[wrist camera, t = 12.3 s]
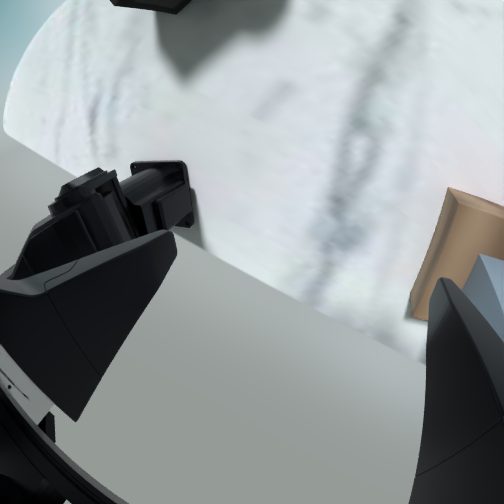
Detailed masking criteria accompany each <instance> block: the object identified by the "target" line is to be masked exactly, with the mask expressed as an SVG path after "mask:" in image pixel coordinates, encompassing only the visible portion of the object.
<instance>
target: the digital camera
mask: <svg viewBox="0 0 504 504" xmlns="http://www.w3.org/2000/svg"><path fill="white" fill-rule="evenodd" d="M110 1H111V3H112V4H113V5H114V6H120V7H129V8H138V9H146V10H153V11H159V12H165V13H171V14H178V13H179V12H180V11H181V10H182V9H183V8H184V7H185V6H186V5H187V4H188V3H189V2H191V1H192V0H110Z"/></svg>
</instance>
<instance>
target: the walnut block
mask: <svg viewBox="0 0 504 504" xmlns="http://www.w3.org/2000/svg"><path fill="white" fill-rule="evenodd" d="M479 254H483V255H486V256H489V257H493V258H496V259H499V260H503V261H504V207H503V206H501V205H498V204H496V203H493V202H490V201H488V200H485V199H482V198H479V197H476V196H474V195H471V194H468V193H465V192H462V191H459V190H456V189H452V188H449V187H448V189H447V193H446V197H445V200H444V204H443V207H442V210H441V213H440V217H439V220H438V223H437V226H436V229H435V232H434V235H433V238H432V241H431V243H430V246H429V249H428V251H427V254H426V257H425V259H424V262H423V264H422V267H421V269H420V272H419V274H418V277H417V279H416V281H415V284H414V286H413V288H412V290H411V293H410V297H411V312H412V318H417V319H421V320H426V321H428V311H429V300H430V297H431V294H432V292H433V290H434V287H435V285H436V282H437V280H438V278H440V277H445V278H450V279H452V280H453V281H454V283H455V284H456V285H457V286H458V287H459V288H460V289H461V290H462V289H463V287H464V285H465V283H466V281H467V279H468V277H469V274H470V272H471V270H472V268H473V266H474V264H475V262H476V259H477V257H478V255H479Z"/></svg>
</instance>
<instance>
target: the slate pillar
mask: <svg viewBox="0 0 504 504" xmlns="http://www.w3.org/2000/svg"><path fill="white" fill-rule="evenodd" d="M462 291H463V293H464V294H465V295H466V296H467V297H468V298H469V299H470V301H471V302H472V303H473V304H474V305H475V306H476V308H477V309H478V310H479V311H480V312H481V314H482V315H483V316H484V317H485V319H486V320H487V321H488V322H489V324H490V325H491V326H492V327H493V329H494V330H495V331H496V333H497V334H498V335H499V337H500V338H501V339H502V341H503V342H504V261H503V260H499V259H496V258H493V257H489V256H486V255H483V254H479V255H478V257H477V259H476V262H475V264H474V266H473V268H472V270H471V272H470V274H469V277H468V279H467V281H466V283H465V285H464V287H463V289H462Z"/></svg>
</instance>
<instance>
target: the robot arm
mask: <svg viewBox="0 0 504 504" xmlns="http://www.w3.org/2000/svg"><path fill="white" fill-rule="evenodd" d="M178 165H180V167H181V168H179V166H178ZM135 167H136V168H135ZM130 169H131V174H132V176H131V177H129V178H127V179H125V180H123V181H121V182H120V183H119V181H118V179H117V173H116V171H115V169H114V170H112V171H110V172H107V171H103V170H102V169H100V168H99V167H98V168H96V169H94V170H92V171H90V172H88V173H86V174H84V175H82V176H80V177H78V178H76V179H74V180H72V181H70V182H69V183H67V184H65V185H63V186H62V187H61V191H60V193H59V196H58V197H57V198H55V202H53V203H52V204H50V205H49V206H48V208H49V211H50V213H51V215H49V216H47V217H46V218H44V219H43V220H41V221H40V222H38V223H37V224H35V225H34V227H33V228H32V230H31V232H30V234H29V236H28V238H27V240H26V242H25V244H24V246H23V248H22V250H21V253H20V255H19V257H18V259H17V262H16V264H14V265H13V266H12V267H10V268H9V269H8V270H6V271H5V272H4V273H2V274H1V275H0V504H63V503H64V502H65V501H66V499H67V500H68V501H69V502H70V503H71V504H128V503H127V502H126V501H124V500H123V499H121V498H120V497H118V496H117V495H115V494H114V493H112V492H111V491H109V490H108V489H107V488H106V487H104V486H103V485H101V484H100V483H99V482H98V481H97V480H95V479H94V478H93V477H91V476H90V475H89V474H88V473H86V472H85V471H84V470H83V469H82V468H80V467H79V466H78V465H77V464H76V463H75V462H74V461H72V460H71V459H70V458H69V457H68V456H67V455H66V454H65V453H64V452H63V451H62V450H61V449H60V448H59V447H58V446H57V445H56V444H55V424H54V423H55V422H54V415H53V414H52V413H51V412H50V411H49V410H50V409H51V408H52V406H53V405H54V404H55V405H57V406H58V407H59V408H60V409H61V410H62V411H63V412H64V413H65V414H66V415H68V416H69V417H70V418H71V419H72V420H73V421H75V422H77V420H78V419H79V417H80V416H81V414H82V412H83V410H84V408H85V407H86V405H87V403H88V401H89V399H90V398H91V396H92V394H93V392H94V391H95V389H96V387H97V385H98V384H99V382H100V381H101V378H102V377H103V375H104V373H105V372H106V370H107V368H108V367H109V365H110V363H111V362H112V360H113V359H114V357H115V355H116V354H117V352H118V350H119V349H120V347H121V346H122V344H123V342H124V341H125V339H126V338H127V336H128V335H129V333H130V331H131V330H132V328H133V327H134V325H135V323H136V322H137V320H138V319H139V317H140V316H141V314H142V313H143V311H144V310H145V308H146V307H147V305H148V304H149V302H150V301H151V299H152V298H153V296H154V295H155V293H156V292H157V290H158V289H159V287H160V285H161V283H162V282H163V280H164V278H165V276H166V274H167V272H168V271H169V269H170V267H171V265H172V263H173V261H174V260H175V258H176V256H177V247H176V243H175V238H174V234H173V232H171V231H168V230H169V229H171V228H172V227H173V226H179V227H186V228H190V227H191V226H193V224H194V219H193V213H192V205H191V198H190V192H189V186H188V181H187V174H186V167H185V164H184V162H183V161H180V160H177V161H137V162H133V163H131V165H130ZM188 222H189V223H188ZM409 504H504V342H503V341H502V339H501V338H500V337H499V335H498V334H497V333H496V331H495V330H494V329H493V327H492V326H491V325H490V324H489V322H488V321H487V320H486V319H485V317H484V316H483V315H482V314H481V312H480V311H479V310H478V309H477V308H476V306H475V305H474V304H473V303H472V302H471V301H470V299H469V298H468V297H467V296H466V295H465V294H464V293H463V291H462V290H461V289H460V288H459V287H458V286H457V285H456V284H455V283H454V281H453V280H452V279H450V278H445V277H440V278H438V280H437V282H436V285H435V287H434V290H433V292H432V294H431V297H430V300H429V311H428V330H427V343H426V391H425V408H424V419H423V429H422V437H421V446H420V452H419V458H418V464H417V469H416V474H415V478H414V484H413V488H412V492H411V496H410V500H409Z"/></svg>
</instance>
